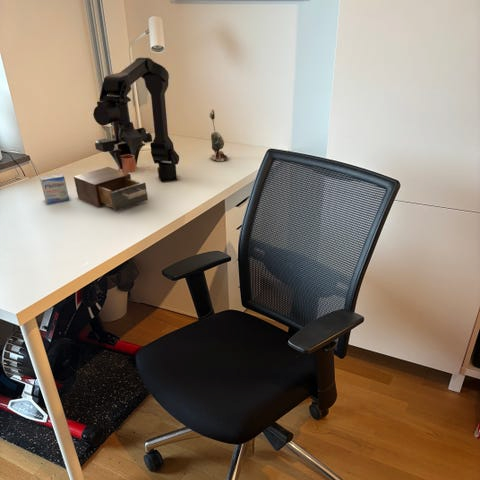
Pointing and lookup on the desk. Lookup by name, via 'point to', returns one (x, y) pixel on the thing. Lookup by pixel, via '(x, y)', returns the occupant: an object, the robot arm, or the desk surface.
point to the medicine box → (54, 188)
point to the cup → (128, 163)
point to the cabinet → (96, 183)
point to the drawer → (122, 193)
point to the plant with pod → (217, 143)
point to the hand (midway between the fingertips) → (128, 167)
